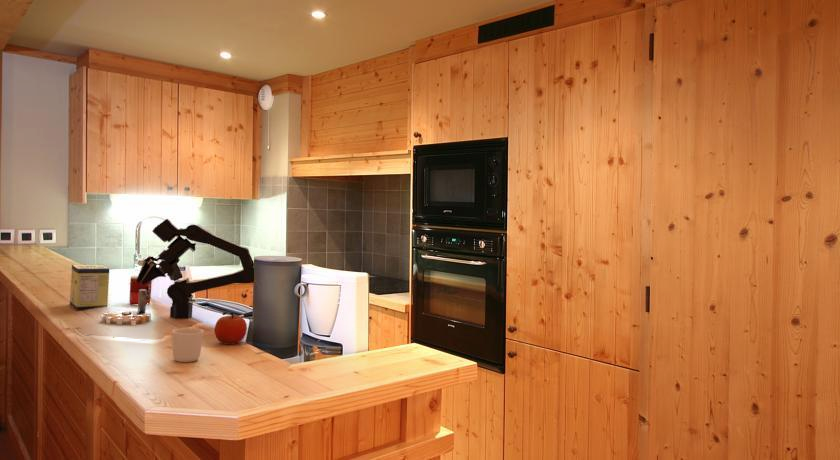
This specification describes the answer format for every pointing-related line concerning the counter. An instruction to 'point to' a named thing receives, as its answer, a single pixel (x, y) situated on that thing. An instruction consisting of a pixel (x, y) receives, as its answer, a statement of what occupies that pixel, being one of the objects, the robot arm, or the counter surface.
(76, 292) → the protein box
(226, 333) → the fruit
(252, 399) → the counter surface
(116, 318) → the sprocket
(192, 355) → the cup
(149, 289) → the canned food
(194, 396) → the counter surface
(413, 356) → the counter surface
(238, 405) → the counter surface
